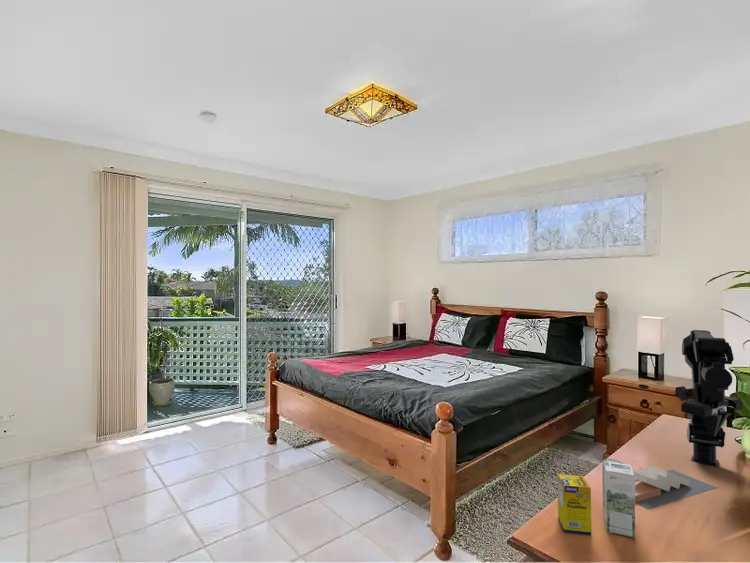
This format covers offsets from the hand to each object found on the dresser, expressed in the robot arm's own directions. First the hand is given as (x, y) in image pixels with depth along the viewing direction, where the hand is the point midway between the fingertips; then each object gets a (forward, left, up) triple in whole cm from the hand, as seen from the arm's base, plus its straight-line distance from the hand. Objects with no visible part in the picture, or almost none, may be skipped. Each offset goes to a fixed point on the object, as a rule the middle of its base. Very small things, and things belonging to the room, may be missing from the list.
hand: (712, 435), depth 118 cm
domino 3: (+9, -7, -12) cm, 16 cm away
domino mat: (+16, -10, -13) cm, 23 cm away
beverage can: (+36, -17, -13) cm, 42 cm away
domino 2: (+12, -8, -12) cm, 19 cm away
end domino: (+19, -12, -12) cm, 25 cm away
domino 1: (+16, -10, -12) cm, 22 cm away
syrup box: (+44, -14, -13) cm, 48 cm away
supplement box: (+50, -22, -13) cm, 56 cm away
